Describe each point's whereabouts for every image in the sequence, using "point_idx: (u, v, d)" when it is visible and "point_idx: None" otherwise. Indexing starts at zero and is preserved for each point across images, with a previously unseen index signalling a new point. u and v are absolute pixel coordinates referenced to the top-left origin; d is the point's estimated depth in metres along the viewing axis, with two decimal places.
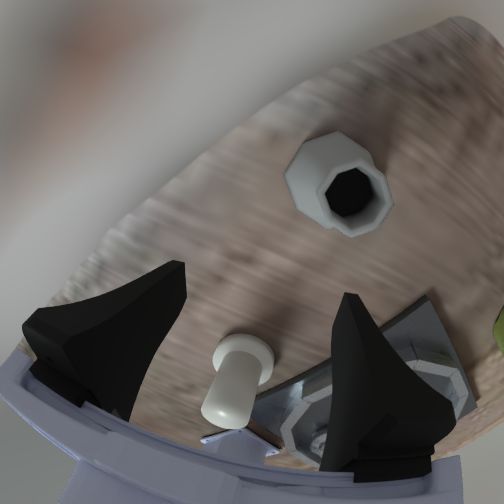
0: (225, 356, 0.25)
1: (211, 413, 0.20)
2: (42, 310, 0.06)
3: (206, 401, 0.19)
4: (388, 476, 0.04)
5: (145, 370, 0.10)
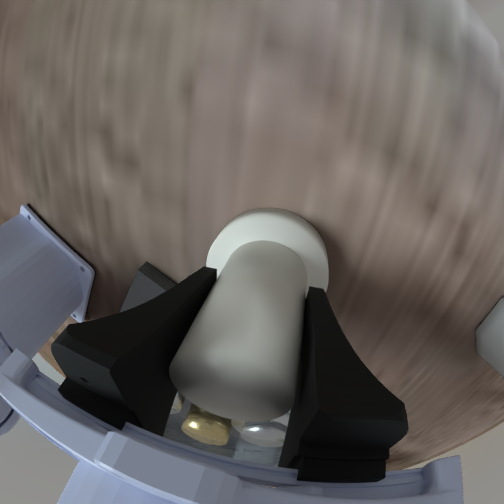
0: (286, 250, 0.12)
1: (216, 371, 0.07)
2: (73, 327, 0.06)
3: (266, 362, 0.07)
4: (334, 477, 0.05)
5: None
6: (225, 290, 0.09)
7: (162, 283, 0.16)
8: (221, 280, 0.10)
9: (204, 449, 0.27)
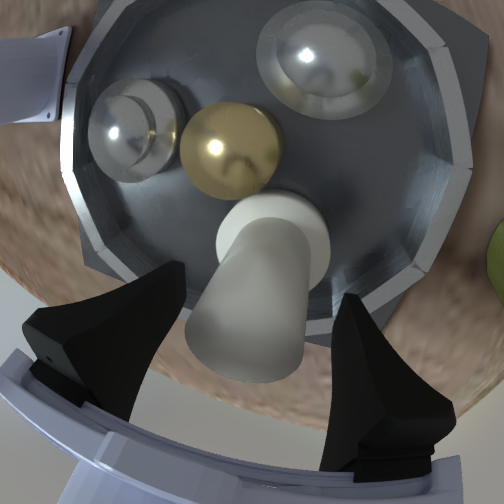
0: (292, 226, 0.13)
1: (231, 324, 0.08)
2: (41, 310, 0.06)
3: (279, 312, 0.08)
4: (388, 476, 0.04)
5: (145, 370, 0.10)
6: (238, 254, 0.10)
7: None
8: (233, 249, 0.11)
9: None
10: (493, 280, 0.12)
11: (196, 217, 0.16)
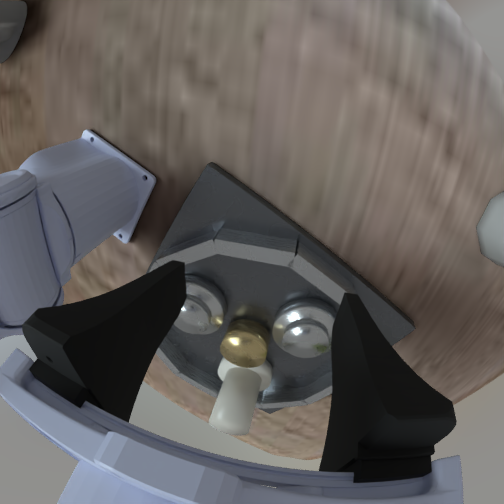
0: (257, 376, 0.27)
1: (229, 423, 0.22)
2: (41, 310, 0.06)
3: (245, 424, 0.22)
4: (388, 476, 0.04)
5: (145, 370, 0.10)
6: (234, 395, 0.24)
7: (227, 176, 0.20)
8: (231, 387, 0.25)
9: None
10: None
11: (211, 346, 0.29)
